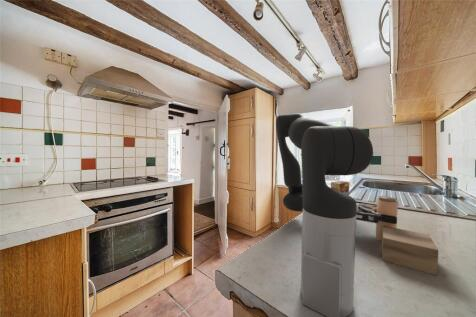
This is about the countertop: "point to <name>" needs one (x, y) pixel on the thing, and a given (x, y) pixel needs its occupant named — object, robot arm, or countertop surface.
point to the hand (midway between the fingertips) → (395, 217)
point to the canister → (388, 208)
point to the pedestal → (409, 249)
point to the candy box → (341, 186)
